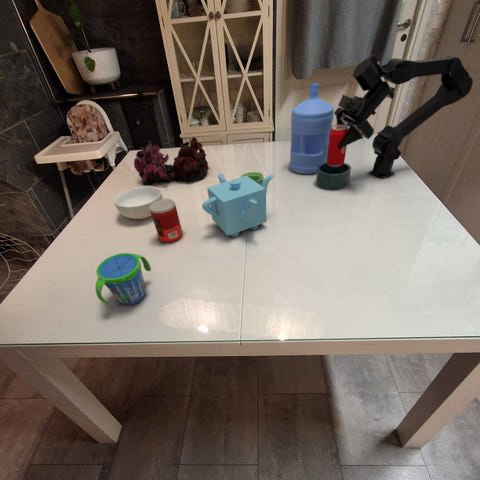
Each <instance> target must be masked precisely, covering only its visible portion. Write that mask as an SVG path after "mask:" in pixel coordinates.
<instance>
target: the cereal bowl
mask: <svg viewBox="0 0 480 480" xmlns="http://www.w3.org/2000/svg"><path fill="white" fill-rule="evenodd" d="M162 199H163V193H162V190H161V189H160V188H159V187H157V186H153V185H149V186H145V185H141V186H135V187H131V188H128V189H125V190H123V191H121V192H120V193H117V195H115V197H114V198H113V203H114V206H115V208H116V210H117V211H118V213H119V214H121V215H122V216H123V217H125V218H129V219H135V220H146V219H149V218H150V217H152V215H151V212H150V209H149V207H150V205H151V204H152V203H154V202H155V201H158V200H162Z"/></svg>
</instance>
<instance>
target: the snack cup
mask: <svg viewBox="0 0 480 480" xmlns="http://www.w3.org/2000/svg"><path fill="white" fill-rule="evenodd" d="M141 262H142V263H141ZM142 264H143V265H142ZM142 266H143V268H144V270H145V271H146V272H151V271H152V267H151V265H150V263H149V261H148V259H147V258H146V257H145V256H143V255H141V254H138V253H130V252H120V253H118V254H113V255H110V256H109V257H107V258H104V259H103V261H101V262H100V263H99V264H98V265H97V267H96V271H95V272H96V276H97V279H96V282H95V293H96V296H97V298H98V300H99V301H101V303H103V304H104V305H107V306H108V305H109V303H108V302H107V300H106V298H104V296H103V295H102V290H103V287H104V286H105V287H107V289H108V290H109V291H110V292H111V294H112V295H113V296H114V297H115V299H116V300H117V301H118V302H120V303H121V304H123V305H132V304H133V305H134V304H137V303H138V302H140V301H142V299H143V298H144V297H145V296H146V294H147V289H146V283H145V280H144V276H143V271H142Z"/></svg>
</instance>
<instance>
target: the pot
mask: <svg viewBox="0 0 480 480" xmlns="http://www.w3.org/2000/svg"><path fill="white" fill-rule="evenodd" d="M351 173H352V167H351V165H350V164H348V163H346V162H344V164H342V165H341V166H338V167H331V166H329V165H328V164H327V162H326V163H323V164H321V165H319V166H318V167H317V173H316V180H315V185H316V187H318V188H319V189H322V190H325V191H339V190H342V189H344V188H346V187H348V185H349V184H350V179H351Z"/></svg>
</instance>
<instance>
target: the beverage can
mask: <svg viewBox="0 0 480 480" xmlns="http://www.w3.org/2000/svg"><path fill="white" fill-rule="evenodd" d="M348 129H349V126H347V125H342V124H340V125H337V124H334V125H332V129H331V131H330V135H329V144H328V153H327V164H328V165H329V166H331V167H338V166H341V165H342V164H344V163H345V160H346V152H347V147H348V145H347V146H345V147H343V148H341V149H338V148H337V146H338V145H339V143H340V142H341V140H342V139H343V138H344V136H345V135H346V134H347V132H348Z"/></svg>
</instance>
